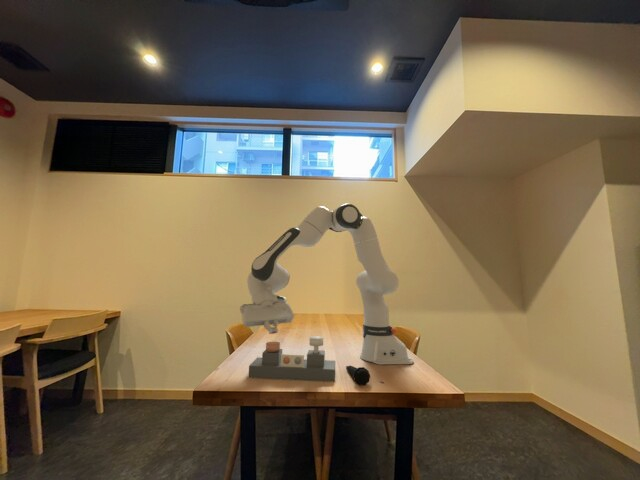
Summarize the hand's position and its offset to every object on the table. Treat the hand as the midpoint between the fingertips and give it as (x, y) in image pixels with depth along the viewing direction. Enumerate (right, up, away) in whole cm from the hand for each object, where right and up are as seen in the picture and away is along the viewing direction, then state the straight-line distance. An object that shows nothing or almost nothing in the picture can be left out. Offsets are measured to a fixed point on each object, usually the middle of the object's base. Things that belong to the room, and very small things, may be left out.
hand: (273, 332), depth 102 cm
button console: (+8, -14, -3) cm, 16 cm away
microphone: (+30, -15, -3) cm, 34 cm away
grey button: (+16, -7, -2) cm, 17 cm away
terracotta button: (0, -10, -1) cm, 10 cm away
